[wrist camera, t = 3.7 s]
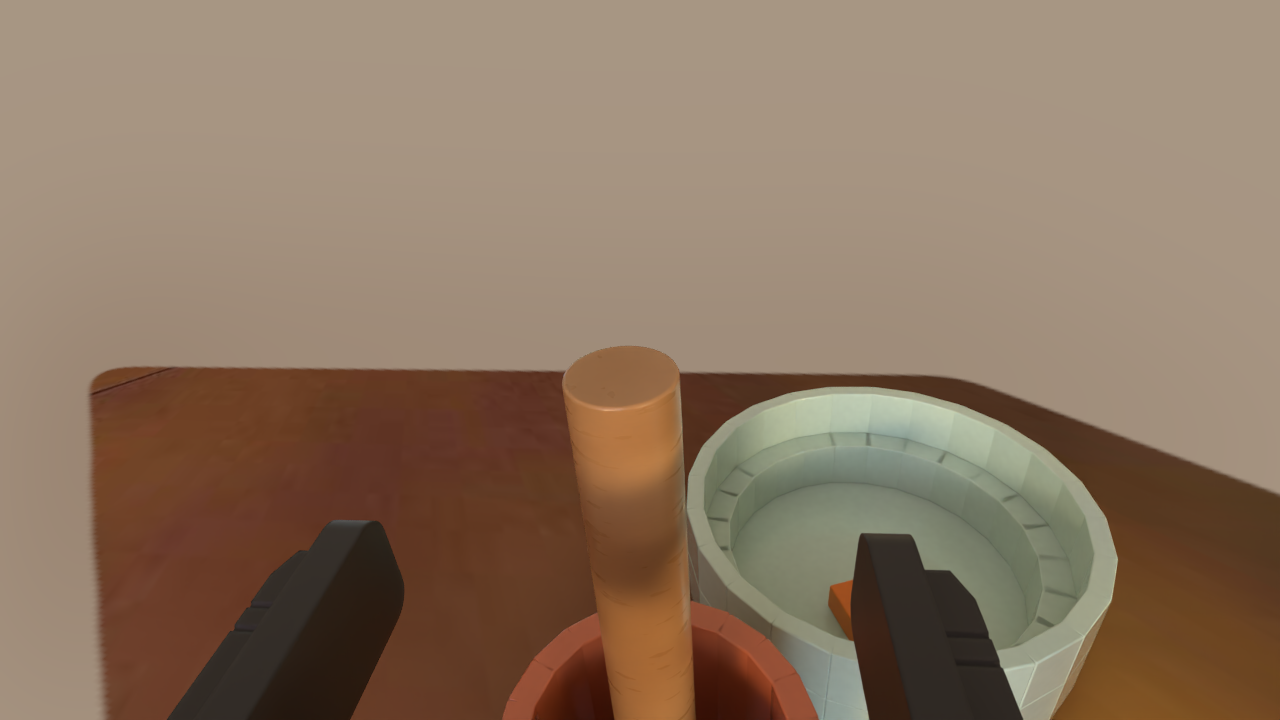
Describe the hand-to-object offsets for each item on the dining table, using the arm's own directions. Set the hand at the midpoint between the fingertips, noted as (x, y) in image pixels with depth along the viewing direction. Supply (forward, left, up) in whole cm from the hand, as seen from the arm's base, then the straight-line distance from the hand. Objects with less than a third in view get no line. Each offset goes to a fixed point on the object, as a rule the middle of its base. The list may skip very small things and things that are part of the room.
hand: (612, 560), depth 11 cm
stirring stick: (0, -3, -18) cm, 18 cm away
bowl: (-9, -16, -19) cm, 26 cm away
